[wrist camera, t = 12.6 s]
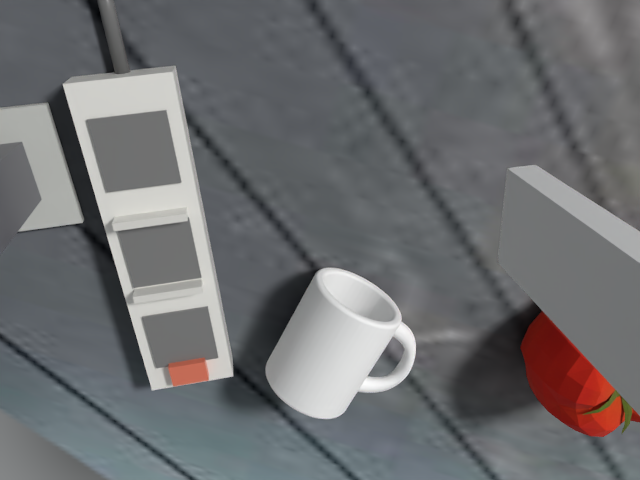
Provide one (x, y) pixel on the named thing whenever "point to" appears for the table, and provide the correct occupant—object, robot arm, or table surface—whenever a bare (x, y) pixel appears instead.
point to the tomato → (571, 382)
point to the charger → (15, 191)
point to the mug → (337, 345)
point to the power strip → (152, 213)
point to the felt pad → (43, 164)
